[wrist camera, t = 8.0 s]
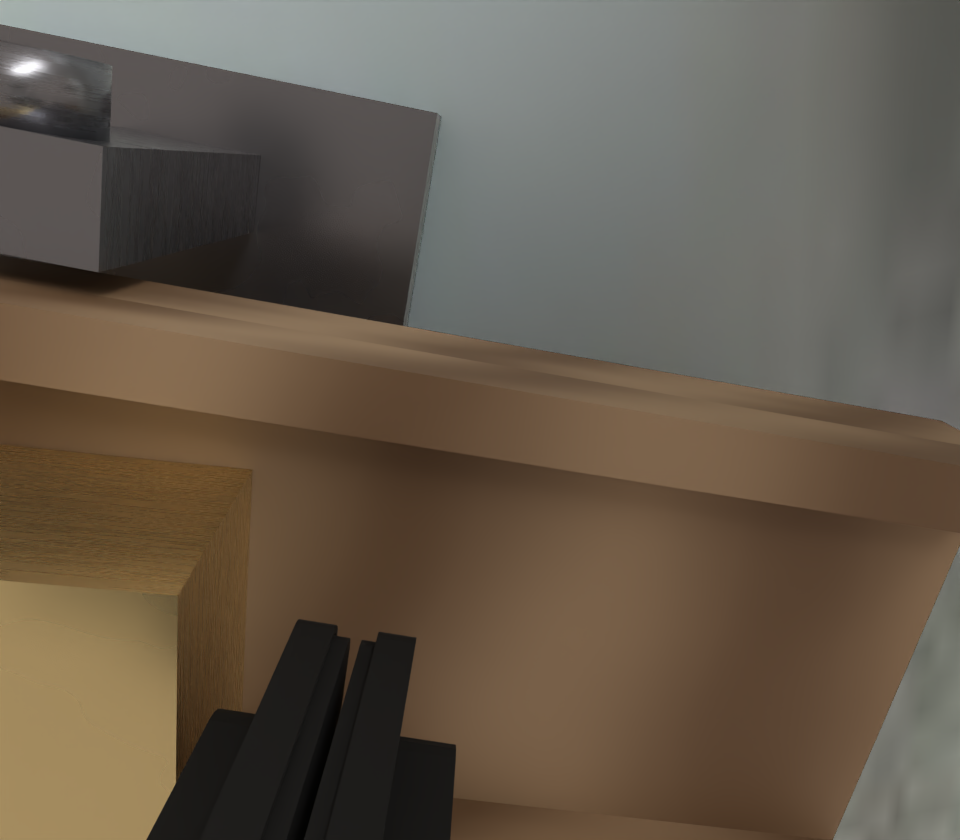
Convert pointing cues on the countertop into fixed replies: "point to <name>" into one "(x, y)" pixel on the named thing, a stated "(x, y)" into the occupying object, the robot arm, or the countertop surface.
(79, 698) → the block
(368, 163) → the pivot stand
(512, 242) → the countertop surface
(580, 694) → the balance beam
